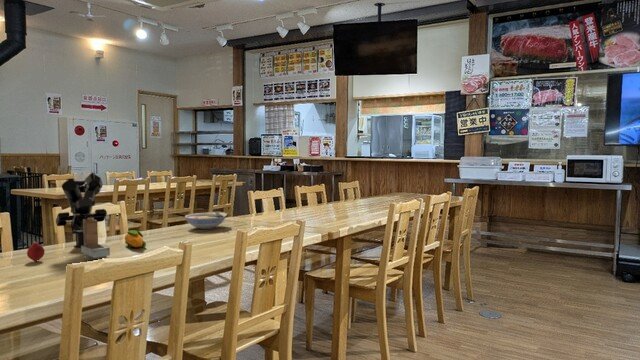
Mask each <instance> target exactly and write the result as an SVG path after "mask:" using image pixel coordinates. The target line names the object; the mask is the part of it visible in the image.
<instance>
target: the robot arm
mask: <svg viewBox="0 0 640 360" xmlns="http://www.w3.org/2000/svg"><path fill="white" fill-rule="evenodd" d="M102 188H103V181H102V179H101V177H100V176H99V175H97V174H96V173H95V172H94V171H82V172H81V175H80V176H79V177H78V178H77V179H75V178H73V177H72V178H68V179H67V180H66V181H64V182H63V183H62V184H61V189H62V192H63V193H64V196H65V198H66V199H67V202H68V205H69V207H70V212H59V213H58V214H57V216H56V219H55V224H56V227H64V226H66V225H67V223H68V222H70V223H71V224H70V226H71V233H72V235H74V234H75V245H73V247H74V248H81V246H84V235H83V220H87V218H90V217H92V218H93V219H94V220H97V223H101V222H104V221H105V219H106V216H107V214H108V212H107V210H106V209H105V208H100V209H99V208H98V209H95V211H94V212H92V210H93V207H94V206H95V205H96V200H95V197H96V195H97V194H99V193H100V192H101V190H102ZM82 194H83V195H82ZM70 213H71V214H72V215H70Z"/></svg>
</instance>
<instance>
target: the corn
mask: <svg viewBox="0 0 640 360" xmlns="http://www.w3.org/2000/svg"><path fill="white" fill-rule="evenodd" d="M143 238H144V235H143V233H142V232H140V231H138V230H135V229H133V230H132V229H131V230H128V231H127V233H126V234H125V236H124V241H125V242H124V243H125V244H126V245H127V246H128V247H130V248H132V249H134V248H139V247H140V248H142V249H144V248H146V247H147V244H146V242H145V241H144V240H143Z"/></svg>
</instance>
